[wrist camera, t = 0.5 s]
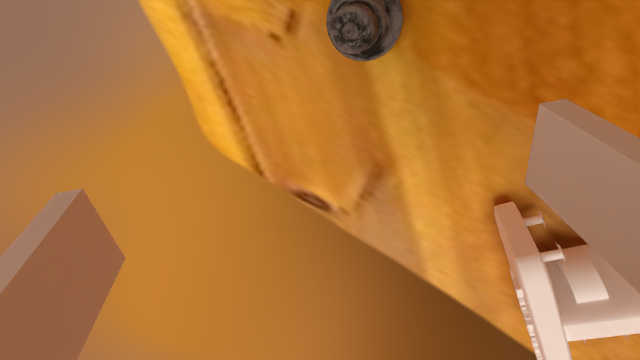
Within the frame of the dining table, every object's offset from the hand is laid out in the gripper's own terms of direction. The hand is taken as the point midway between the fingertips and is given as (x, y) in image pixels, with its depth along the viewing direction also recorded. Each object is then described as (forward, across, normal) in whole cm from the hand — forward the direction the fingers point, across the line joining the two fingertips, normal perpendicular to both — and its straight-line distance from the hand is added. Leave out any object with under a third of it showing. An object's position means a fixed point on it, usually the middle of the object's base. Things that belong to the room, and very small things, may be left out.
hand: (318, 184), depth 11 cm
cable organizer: (+16, +23, -23) cm, 36 cm away
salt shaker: (+24, +7, 0) cm, 25 cm away
